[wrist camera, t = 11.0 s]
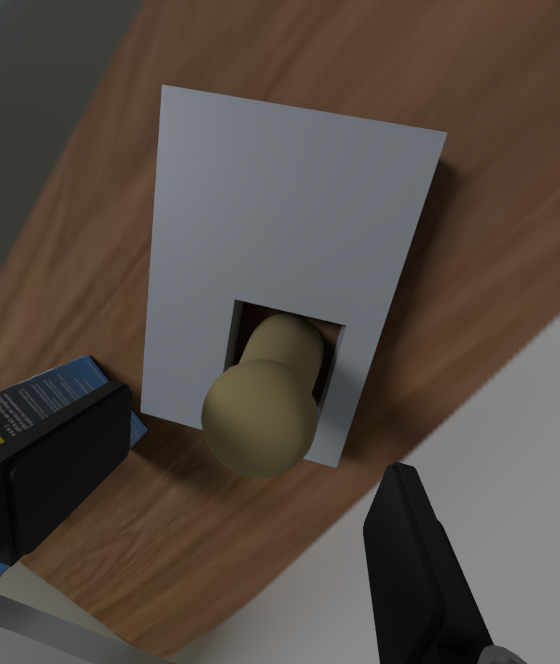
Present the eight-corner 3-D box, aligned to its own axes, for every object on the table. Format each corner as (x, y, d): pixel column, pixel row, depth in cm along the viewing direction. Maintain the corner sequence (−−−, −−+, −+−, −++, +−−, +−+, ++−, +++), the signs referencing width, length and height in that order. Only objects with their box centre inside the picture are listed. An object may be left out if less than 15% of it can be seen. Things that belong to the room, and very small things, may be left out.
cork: (239, 322, 21) (156, 385, 10) (314, 304, 20) (307, 354, 9) (259, 391, 22) (205, 509, 12) (332, 378, 21) (343, 496, 10)
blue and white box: (63, 373, 25) (-170, 474, 13) (90, 352, 24) (-137, 442, 12) (123, 446, 26) (-41, 599, 14) (151, 429, 25) (-1, 580, 13)
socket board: (428, 151, 16) (447, 132, 14) (334, 445, 22) (336, 467, 20) (183, 108, 18) (162, 84, 15) (158, 397, 24) (140, 412, 21)
